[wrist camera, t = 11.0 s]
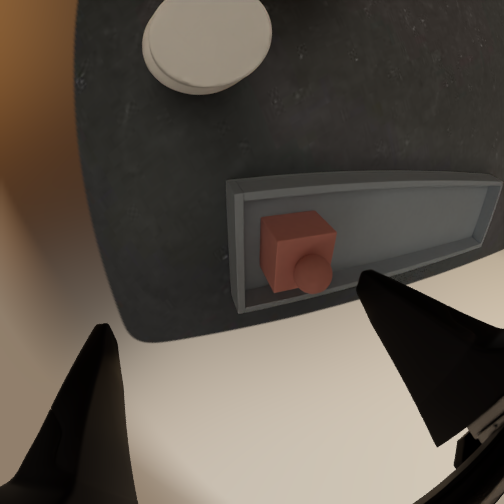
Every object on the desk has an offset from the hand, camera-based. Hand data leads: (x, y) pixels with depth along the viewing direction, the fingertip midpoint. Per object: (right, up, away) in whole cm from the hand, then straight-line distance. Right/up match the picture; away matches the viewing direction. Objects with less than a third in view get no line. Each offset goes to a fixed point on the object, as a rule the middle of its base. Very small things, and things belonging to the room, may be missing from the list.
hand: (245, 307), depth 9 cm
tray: (+15, +5, +17) cm, 23 cm away
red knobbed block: (+3, +3, +13) cm, 14 cm away
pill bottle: (-3, +13, +4) cm, 14 cm away
